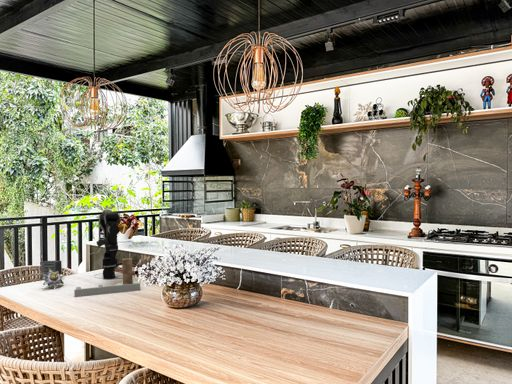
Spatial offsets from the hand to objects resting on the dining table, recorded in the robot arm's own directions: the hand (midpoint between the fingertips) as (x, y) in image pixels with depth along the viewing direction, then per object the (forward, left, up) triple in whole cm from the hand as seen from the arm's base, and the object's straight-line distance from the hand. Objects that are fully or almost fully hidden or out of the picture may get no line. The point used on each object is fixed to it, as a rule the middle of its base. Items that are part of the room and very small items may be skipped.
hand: (112, 260), depth 228 cm
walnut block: (-8, +18, -11) cm, 22 cm away
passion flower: (+32, -3, -13) cm, 35 cm away
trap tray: (+2, +18, -13) cm, 22 cm away
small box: (+36, -31, -13) cm, 49 cm away
